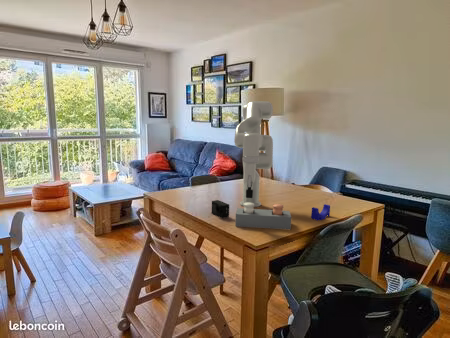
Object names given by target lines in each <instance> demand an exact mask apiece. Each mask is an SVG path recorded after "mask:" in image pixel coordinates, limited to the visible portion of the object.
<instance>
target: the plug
mask: <svg viewBox="0 0 450 338" xmlns="http://www.w3.org/2000/svg"><path fill="white" fill-rule="evenodd" d="M243 207H244V213H250V214H253V209H254V208H255V207H254V203H250V202H247V203H244V206H243Z"/></svg>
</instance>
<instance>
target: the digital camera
mask: <svg viewBox="0 0 450 338" xmlns="http://www.w3.org/2000/svg"><path fill="white" fill-rule="evenodd" d="M211 214H212V215H215V216H216V217H218V218H220V219H226V218H229V217H230V204H229V203H227V202H224V201H223V200H222V201H221V200H218V199H217V200H211Z"/></svg>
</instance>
